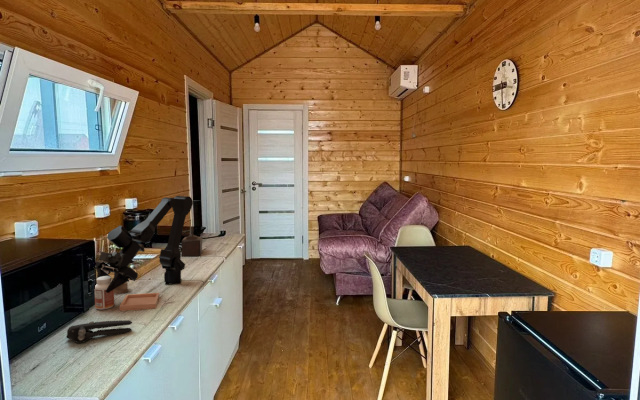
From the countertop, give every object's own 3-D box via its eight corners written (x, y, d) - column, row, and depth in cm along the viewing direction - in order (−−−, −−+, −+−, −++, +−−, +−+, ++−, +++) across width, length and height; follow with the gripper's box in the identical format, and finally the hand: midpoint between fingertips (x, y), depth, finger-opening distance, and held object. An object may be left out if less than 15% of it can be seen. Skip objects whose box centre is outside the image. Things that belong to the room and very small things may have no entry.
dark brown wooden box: (202, 252, 227) (203, 222, 225) (200, 256, 216) (200, 225, 214) (175, 252, 225) (175, 222, 223) (171, 256, 214) (171, 225, 212)
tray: (159, 296, 152) (159, 292, 152) (155, 308, 141) (155, 303, 141) (126, 299, 149) (126, 294, 149) (119, 310, 137) (119, 306, 137)
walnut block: (126, 288, 161) (126, 279, 160) (127, 292, 156) (127, 283, 156) (113, 290, 158) (112, 281, 158) (113, 294, 154) (113, 284, 153)
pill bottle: (114, 302, 145) (114, 274, 144) (113, 308, 139) (113, 279, 138) (95, 305, 142) (95, 276, 141) (94, 311, 136) (93, 281, 135)
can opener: (65, 348, 110) (65, 330, 110) (67, 338, 116) (66, 321, 116) (133, 336, 119) (133, 318, 119) (131, 327, 125) (131, 310, 125)
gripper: (96, 240, 145) (67, 275, 137) (130, 246, 138) (103, 284, 129) (115, 255, 153) (89, 290, 145) (148, 262, 146) (123, 299, 137)
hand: (100, 290), depth 139 cm, fingers closed on pill bottle, 6 cm apart
